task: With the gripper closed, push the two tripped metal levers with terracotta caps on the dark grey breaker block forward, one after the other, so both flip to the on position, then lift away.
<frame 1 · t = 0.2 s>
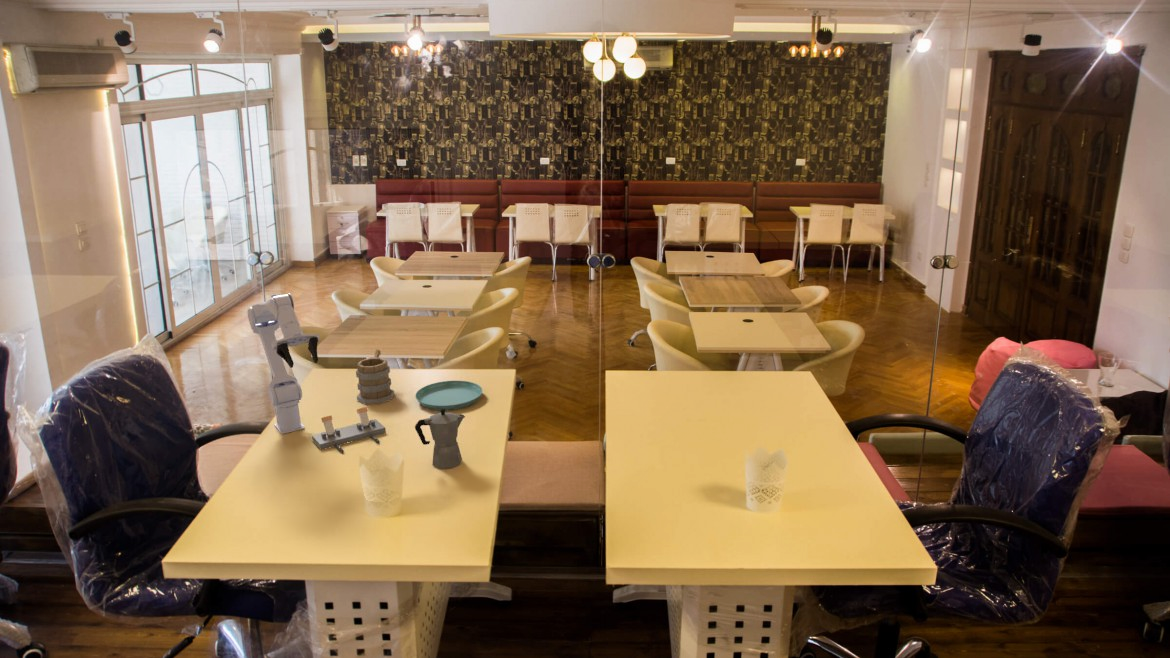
hand: (304, 363, 276), 31 cm above the table, fingers open, 7 cm apart
lever b: (363, 417, 301), point 5 cm above the table, hinge at -28.0°
coffeepot: (444, 464, 276), on the table
breaker block: (349, 436, 298), on the table
saucer: (449, 401, 327), on the table
tankard: (378, 394, 335), on the table
lever a: (328, 426, 295), point 5 cm above the table, hinge at -28.0°
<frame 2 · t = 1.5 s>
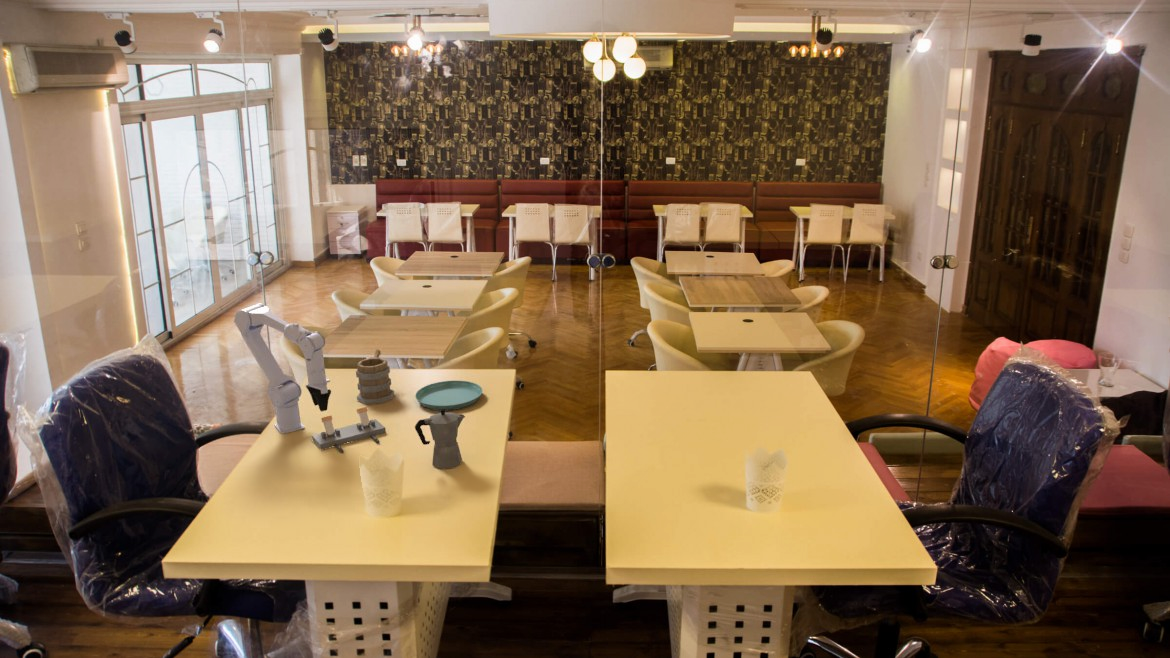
hand: (320, 407, 299), 9 cm above the table, fingers open, 6 cm apart
nothing on the table moved.
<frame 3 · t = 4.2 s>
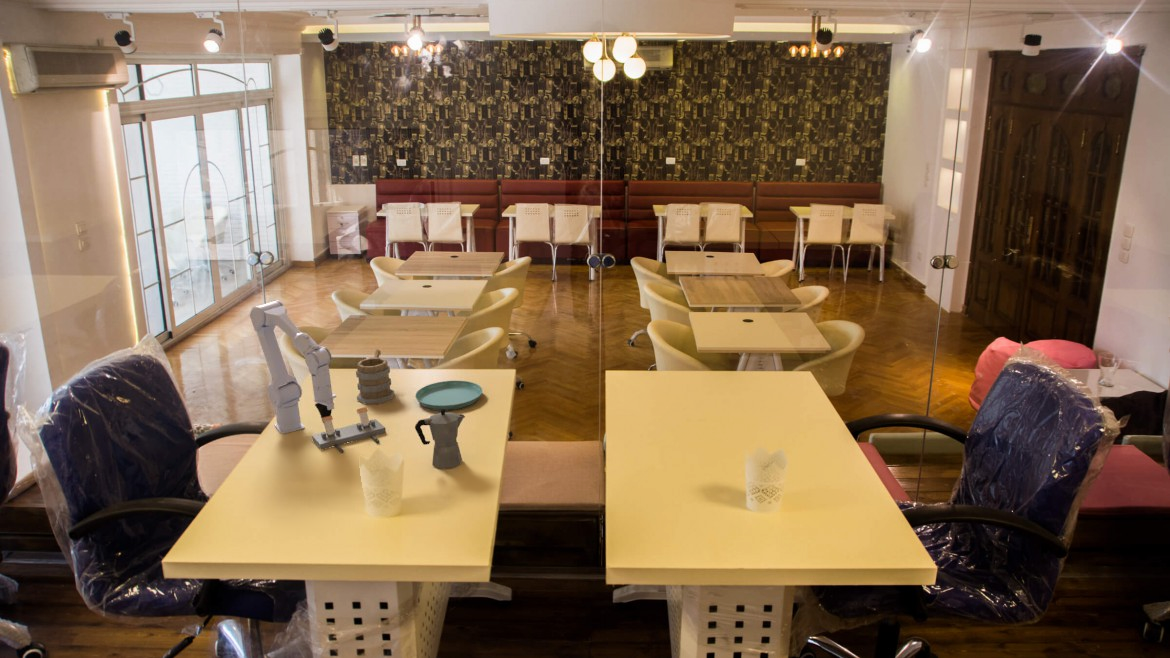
hand: (327, 423, 296), 5 cm above the table, fingers closed, pressing on lever a
lever a: (328, 426, 294), point 5 cm above the table, hinge at -23.1°, touching gripper
everything else where it was.
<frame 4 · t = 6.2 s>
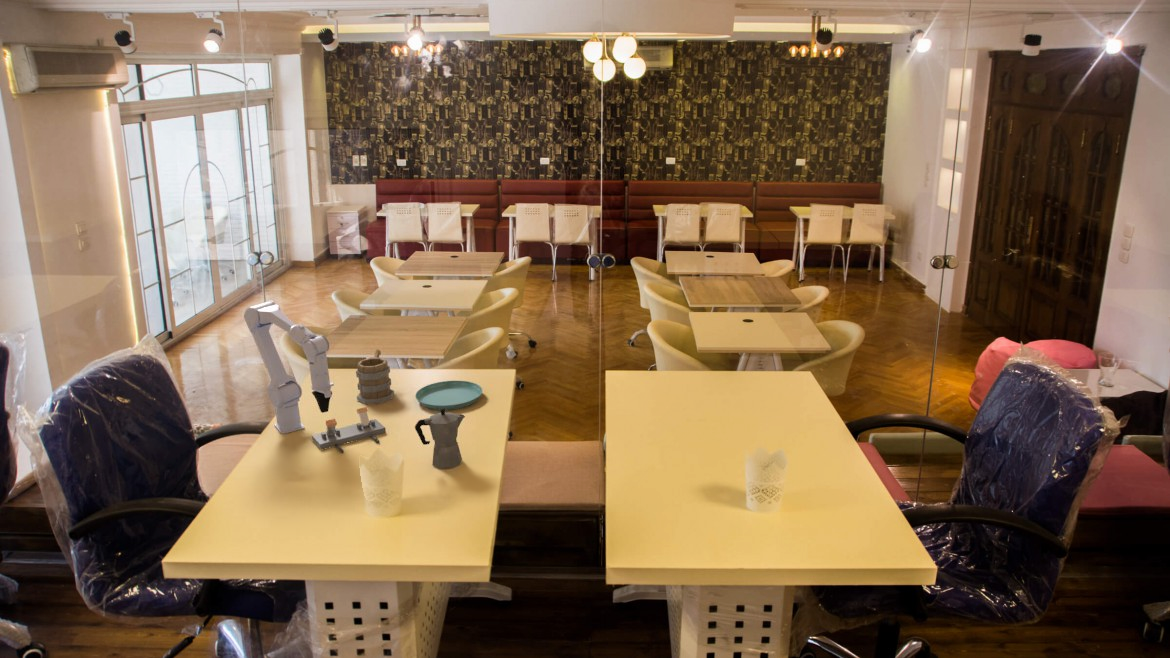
hand: (324, 411, 296), 9 cm above the table, fingers closed
lever a: (330, 428, 293), point 5 cm above the table, hinge at 26.5°
everything else where it was.
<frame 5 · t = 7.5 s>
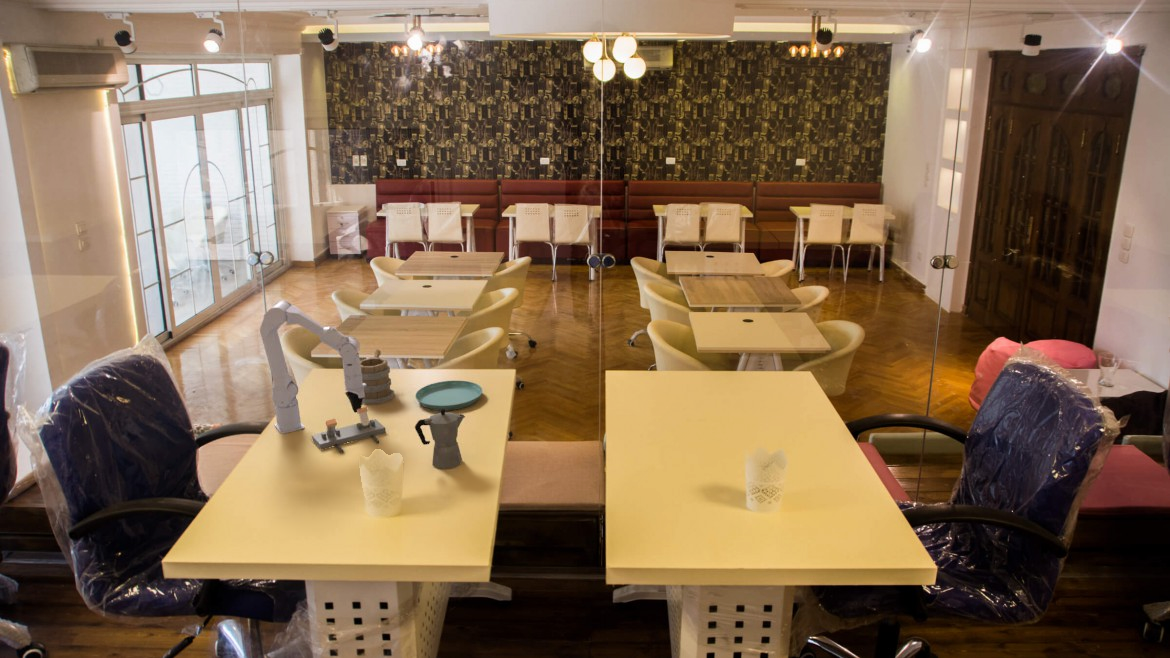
hand: (357, 411, 306), 5 cm above the table, fingers closed
lever a: (330, 428, 293), point 5 cm above the table, hinge at 26.9°
everything else where it was.
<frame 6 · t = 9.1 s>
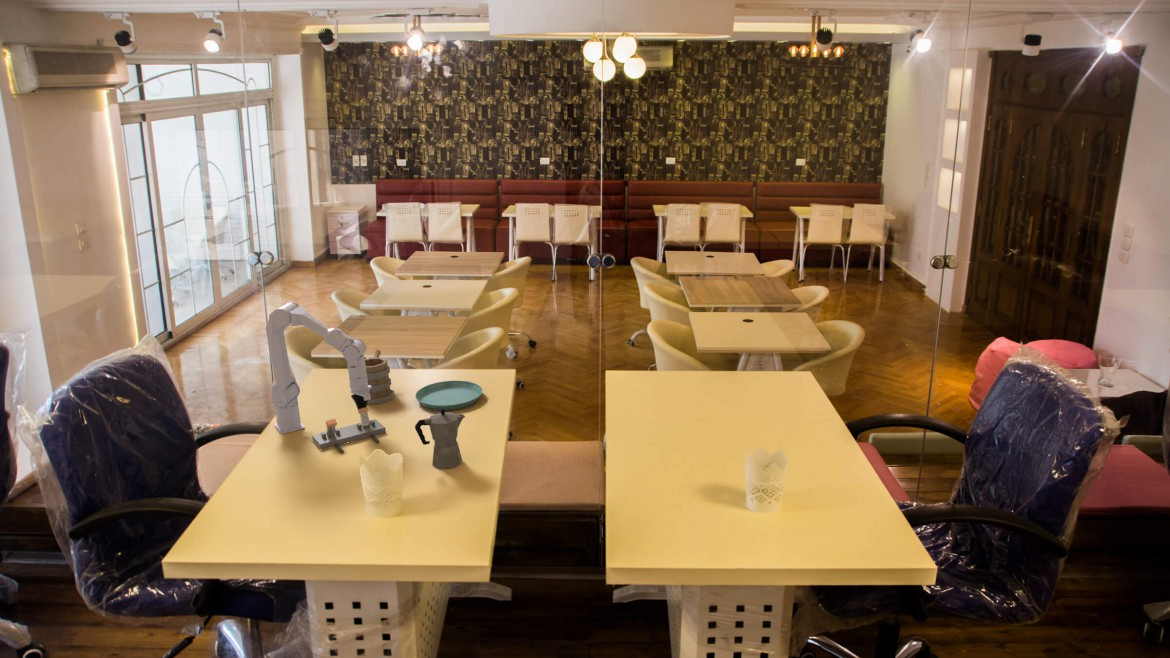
hand: (362, 414, 302), 6 cm above the table, fingers closed, pressing on lever b
lever b: (364, 417, 300), point 5 cm above the table, hinge at -16.3°, touching gripper
everything else where it was.
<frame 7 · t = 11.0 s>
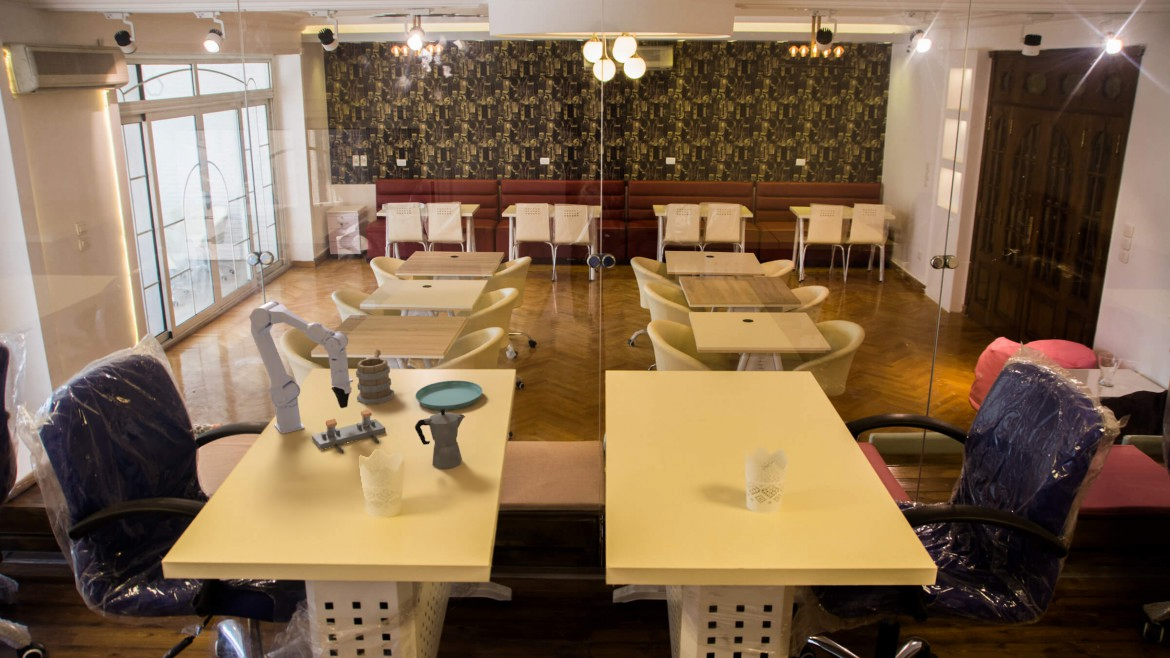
hand: (343, 407, 301), 9 cm above the table, fingers closed
lever b: (366, 419, 299), point 5 cm above the table, hinge at 21.6°
everything else where it was.
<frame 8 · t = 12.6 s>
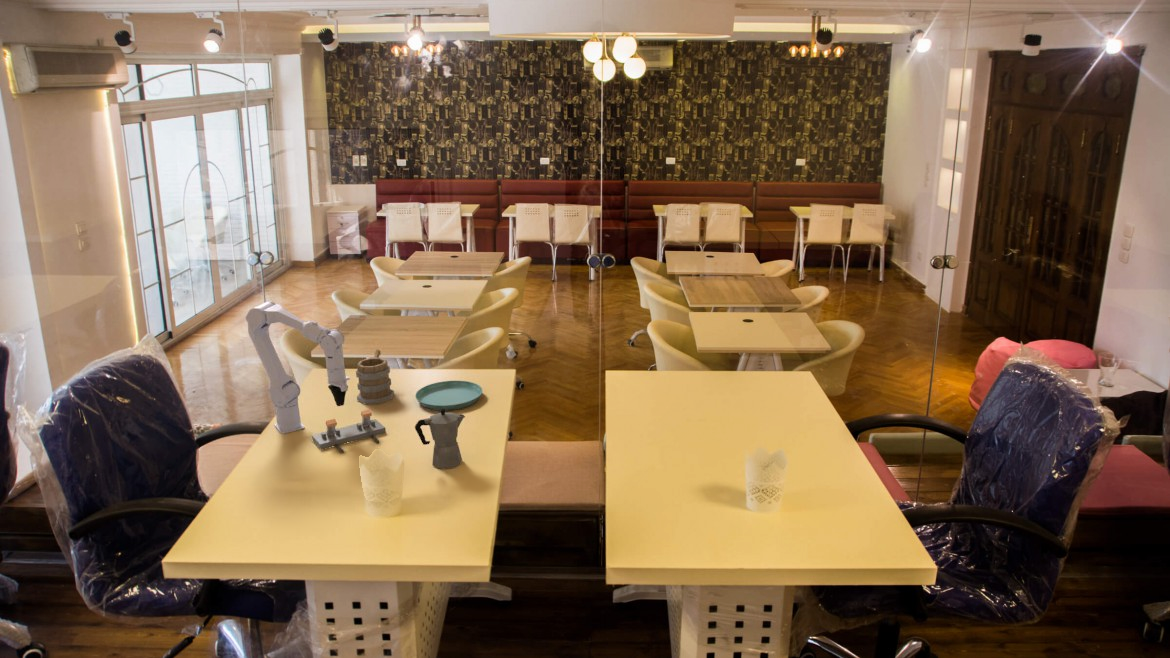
hand: (340, 405, 300), 9 cm above the table, fingers closed
lever b: (366, 419, 299), point 5 cm above the table, hinge at 22.0°
everything else where it was.
at the end: lever a at +27° (first picture: -28°); lever b at +22° (first picture: -28°) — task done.
